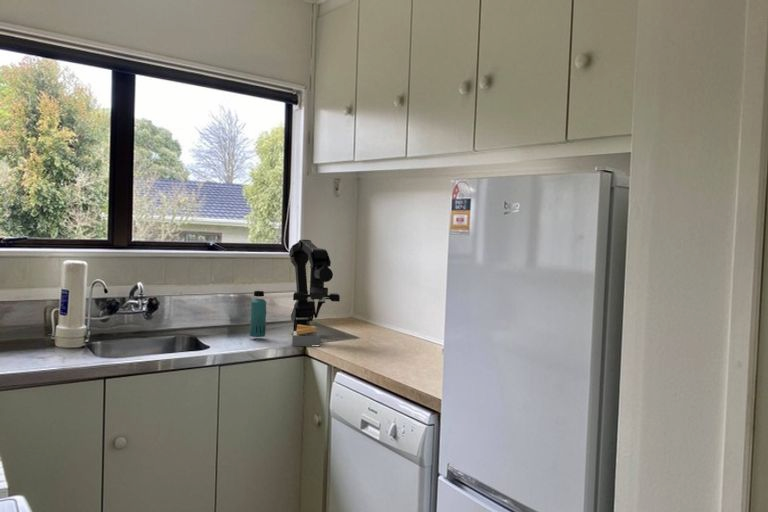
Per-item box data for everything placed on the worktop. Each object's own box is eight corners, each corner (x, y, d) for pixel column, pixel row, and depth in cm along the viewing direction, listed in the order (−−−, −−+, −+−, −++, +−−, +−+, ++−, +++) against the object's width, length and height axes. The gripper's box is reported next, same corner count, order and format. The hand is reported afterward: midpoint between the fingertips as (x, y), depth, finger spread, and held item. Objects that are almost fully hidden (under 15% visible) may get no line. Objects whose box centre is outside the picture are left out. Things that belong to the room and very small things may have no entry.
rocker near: (297, 334, 228) (296, 330, 228) (297, 333, 231) (296, 329, 231) (317, 331, 229) (316, 327, 229) (316, 329, 232) (316, 325, 232)
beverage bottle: (254, 341, 232) (256, 291, 231) (246, 338, 237) (248, 290, 236) (268, 339, 237) (270, 291, 236) (260, 337, 242) (262, 289, 241)
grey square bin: (292, 345, 227) (292, 333, 226) (292, 340, 238) (293, 329, 237) (320, 346, 228) (320, 334, 228) (319, 341, 239) (320, 329, 239)
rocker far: (296, 329, 233) (297, 325, 233) (296, 327, 237) (297, 324, 237) (316, 331, 234) (316, 327, 234) (316, 330, 238) (316, 326, 238)
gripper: (293, 280, 226) (292, 320, 226) (341, 282, 228) (339, 321, 229) (294, 278, 237) (292, 316, 237) (339, 280, 239) (338, 317, 240)
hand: (315, 317), depth 235 cm, fingers closed
